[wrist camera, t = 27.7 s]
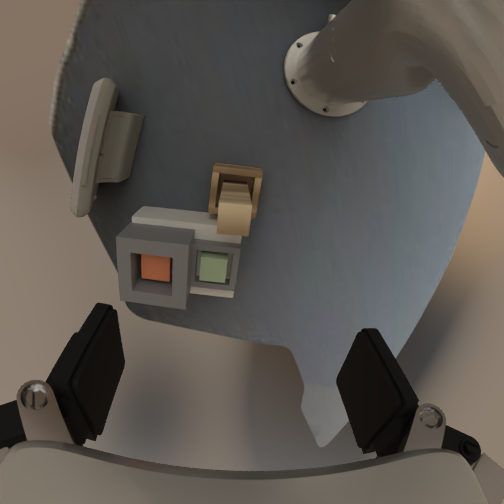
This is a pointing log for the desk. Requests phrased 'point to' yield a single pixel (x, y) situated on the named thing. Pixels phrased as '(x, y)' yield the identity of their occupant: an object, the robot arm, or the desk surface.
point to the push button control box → (173, 256)
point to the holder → (235, 174)
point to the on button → (213, 266)
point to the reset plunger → (156, 267)
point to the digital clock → (103, 146)
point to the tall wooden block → (234, 209)
